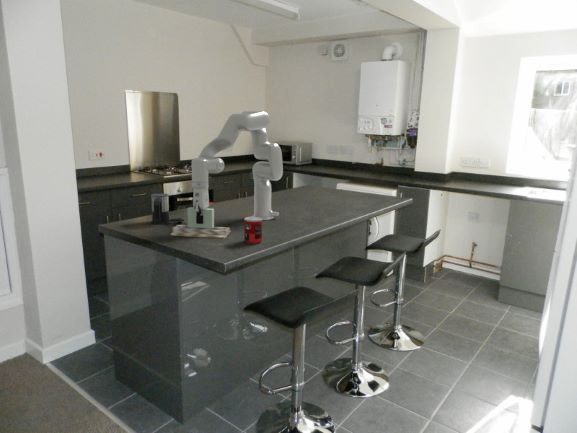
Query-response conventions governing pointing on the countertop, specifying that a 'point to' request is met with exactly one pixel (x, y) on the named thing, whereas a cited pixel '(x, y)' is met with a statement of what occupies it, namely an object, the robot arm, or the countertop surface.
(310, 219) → the countertop surface
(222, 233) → the door track
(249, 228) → the canned food
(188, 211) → the door panel
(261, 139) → the robot arm
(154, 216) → the milk frother
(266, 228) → the countertop surface
